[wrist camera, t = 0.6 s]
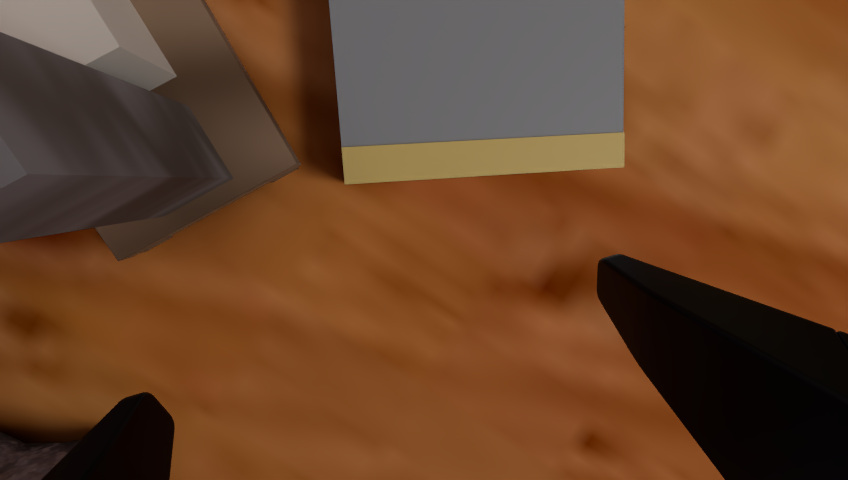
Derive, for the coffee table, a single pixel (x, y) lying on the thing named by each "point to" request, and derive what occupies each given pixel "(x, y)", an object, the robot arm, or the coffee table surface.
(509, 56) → the dock
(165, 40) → the grey column with base
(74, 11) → the box
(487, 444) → the coffee table surface
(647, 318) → the robot arm
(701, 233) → the coffee table surface
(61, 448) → the geode
